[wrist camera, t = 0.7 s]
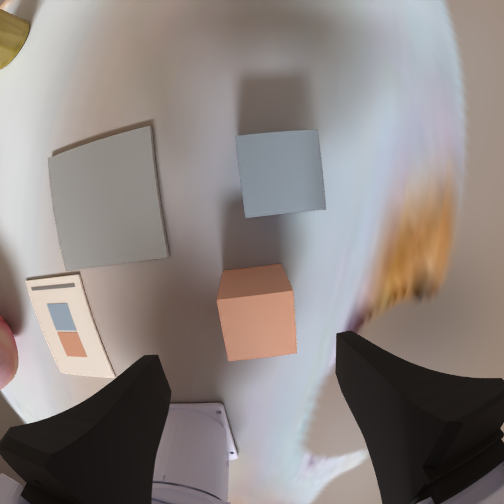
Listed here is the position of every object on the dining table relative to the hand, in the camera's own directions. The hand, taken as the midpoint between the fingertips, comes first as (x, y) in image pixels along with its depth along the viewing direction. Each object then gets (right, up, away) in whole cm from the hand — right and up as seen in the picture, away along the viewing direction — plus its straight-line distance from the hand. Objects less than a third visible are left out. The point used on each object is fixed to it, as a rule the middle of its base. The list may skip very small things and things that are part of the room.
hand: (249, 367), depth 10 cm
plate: (-11, +8, +7) cm, 15 cm away
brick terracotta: (0, +2, +9) cm, 10 cm away
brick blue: (+1, +10, +7) cm, 12 cm away
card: (-16, -2, +10) cm, 19 cm away
